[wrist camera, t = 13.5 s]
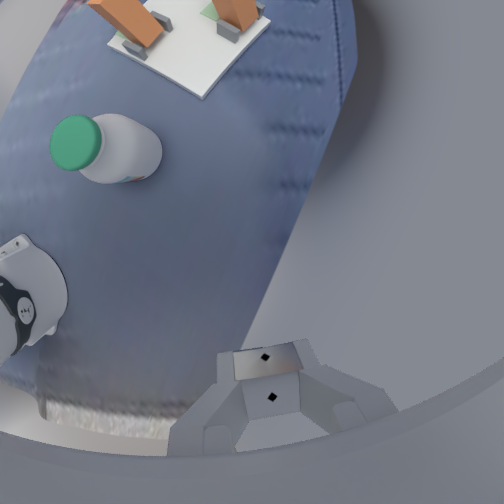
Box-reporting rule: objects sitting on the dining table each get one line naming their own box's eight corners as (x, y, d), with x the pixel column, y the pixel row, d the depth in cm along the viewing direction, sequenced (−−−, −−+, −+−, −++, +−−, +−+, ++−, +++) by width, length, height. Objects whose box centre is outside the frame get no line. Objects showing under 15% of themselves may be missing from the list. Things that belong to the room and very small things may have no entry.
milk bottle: (135, 117, 36) (70, 79, 17) (174, 148, 38) (132, 128, 19) (103, 160, 37) (21, 156, 18) (140, 191, 39) (75, 210, 20)
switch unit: (202, 100, 36) (199, 90, 31) (111, 49, 32) (98, 35, 27) (268, 26, 34) (275, 9, 29) (177, -19, 30) (173, -37, 24)
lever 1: (148, 52, 30) (97, 6, 19) (134, 47, 31) (84, 5, 20) (168, 30, 30) (122, -20, 18) (153, 26, 30) (108, -19, 19)
